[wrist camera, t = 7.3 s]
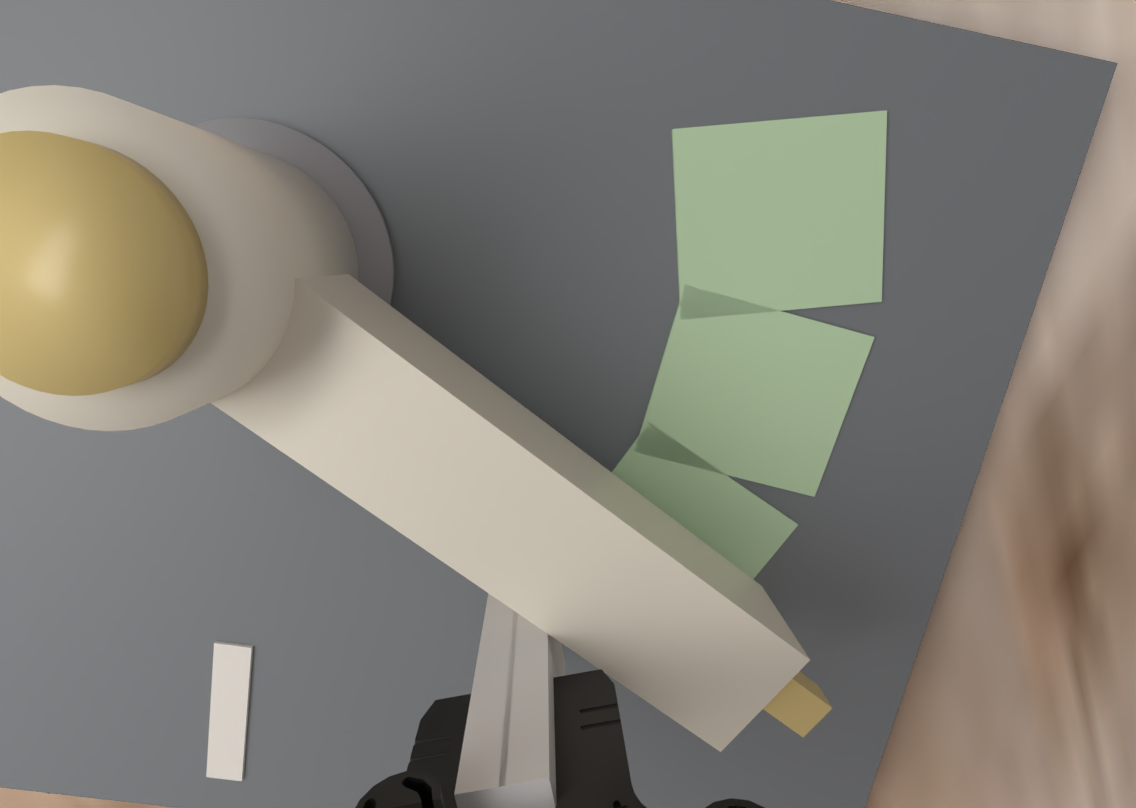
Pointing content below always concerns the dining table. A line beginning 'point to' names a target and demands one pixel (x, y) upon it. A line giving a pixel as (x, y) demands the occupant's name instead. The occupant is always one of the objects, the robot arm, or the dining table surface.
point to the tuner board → (549, 366)
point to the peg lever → (348, 395)
